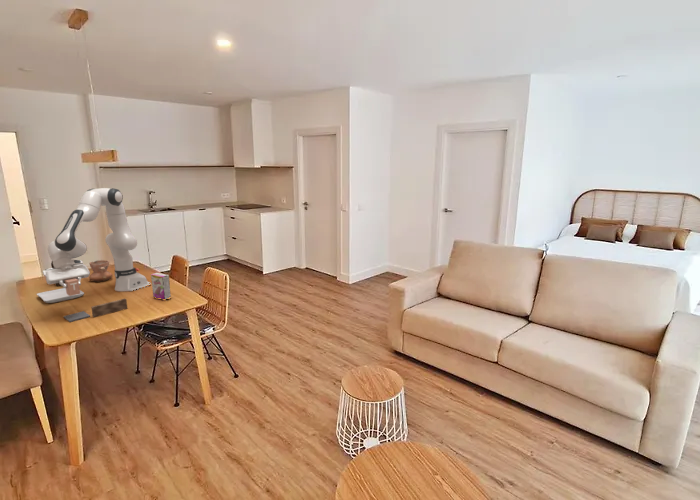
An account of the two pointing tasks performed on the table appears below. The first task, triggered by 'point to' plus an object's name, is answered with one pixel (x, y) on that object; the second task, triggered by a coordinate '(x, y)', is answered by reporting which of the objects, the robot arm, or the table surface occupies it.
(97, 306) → the walnut screen
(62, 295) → the salad plate
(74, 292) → the pink block
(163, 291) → the candy bar box
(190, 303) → the table surface
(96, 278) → the ceramic jug
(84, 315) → the charcoal mat
